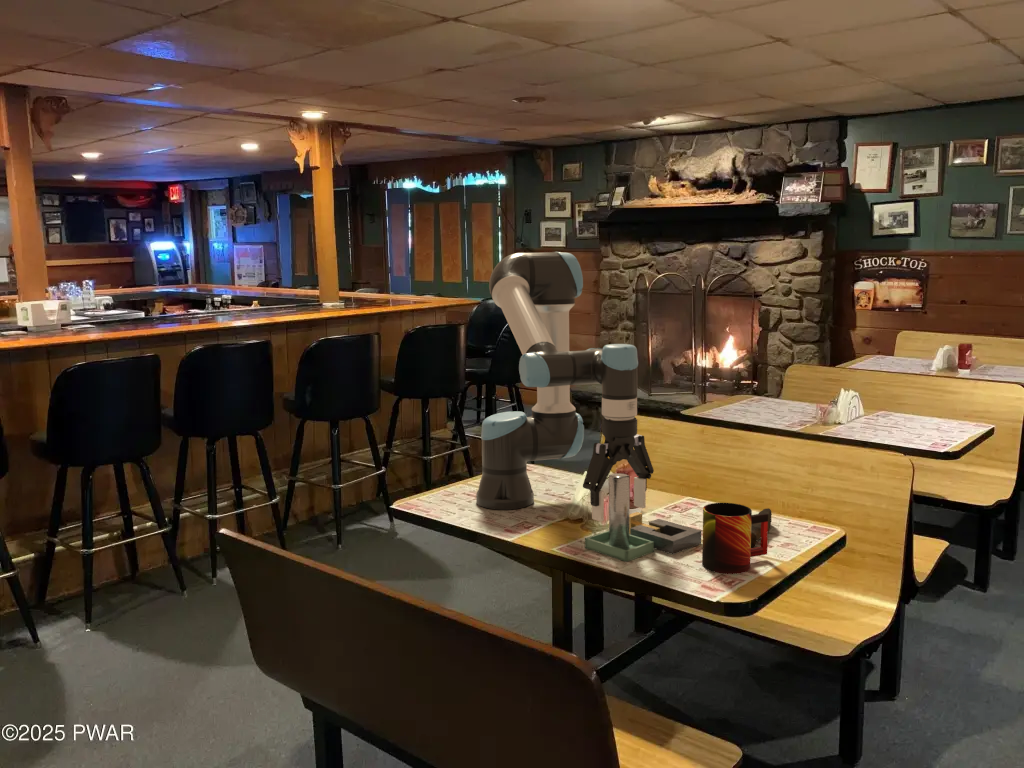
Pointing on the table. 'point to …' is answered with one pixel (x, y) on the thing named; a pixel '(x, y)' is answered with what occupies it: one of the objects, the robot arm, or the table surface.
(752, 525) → the hand tool
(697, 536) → the socket block
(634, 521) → the tan wooden stepped block
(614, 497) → the grey long rod
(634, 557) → the tray
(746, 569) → the mug
